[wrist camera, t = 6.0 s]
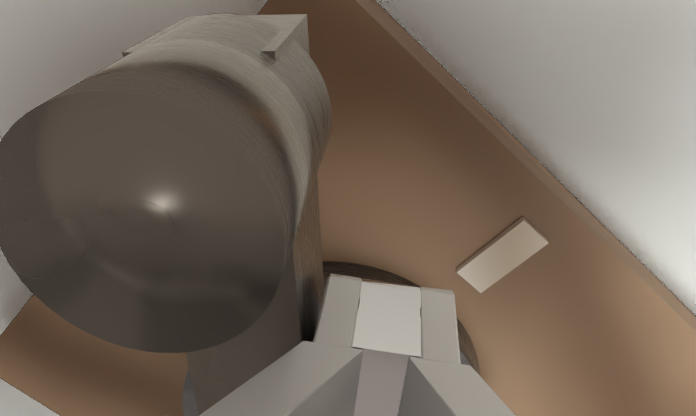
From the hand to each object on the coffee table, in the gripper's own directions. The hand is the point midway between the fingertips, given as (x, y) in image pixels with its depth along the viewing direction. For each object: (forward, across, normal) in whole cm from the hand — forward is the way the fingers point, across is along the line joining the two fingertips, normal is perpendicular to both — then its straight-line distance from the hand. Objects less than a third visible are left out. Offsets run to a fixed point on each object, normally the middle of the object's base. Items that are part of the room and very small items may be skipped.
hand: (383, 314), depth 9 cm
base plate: (+9, +1, +8) cm, 12 cm away
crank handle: (+4, +1, +3) cm, 6 cm away
